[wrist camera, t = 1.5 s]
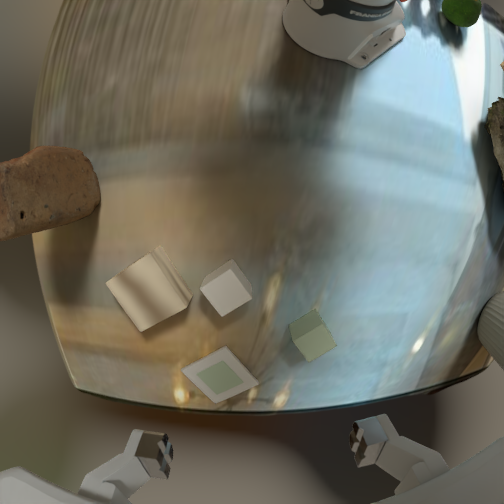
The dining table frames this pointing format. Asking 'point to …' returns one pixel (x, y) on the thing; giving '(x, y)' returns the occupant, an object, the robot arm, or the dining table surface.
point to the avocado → (462, 11)
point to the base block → (150, 289)
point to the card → (220, 375)
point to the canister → (493, 328)
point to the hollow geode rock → (497, 131)
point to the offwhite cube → (227, 288)
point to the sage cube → (311, 336)
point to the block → (45, 190)
